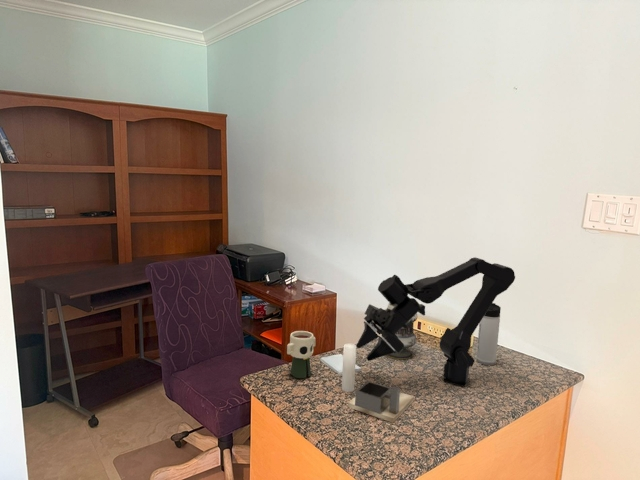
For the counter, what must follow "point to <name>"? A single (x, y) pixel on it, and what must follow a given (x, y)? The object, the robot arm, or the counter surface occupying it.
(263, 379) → the counter surface
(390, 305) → the apothecary jar
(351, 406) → the mounting board
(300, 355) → the character mug
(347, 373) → the white tall cylinder
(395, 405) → the cup bracket
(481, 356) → the travel mug
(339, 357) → the hard drive
